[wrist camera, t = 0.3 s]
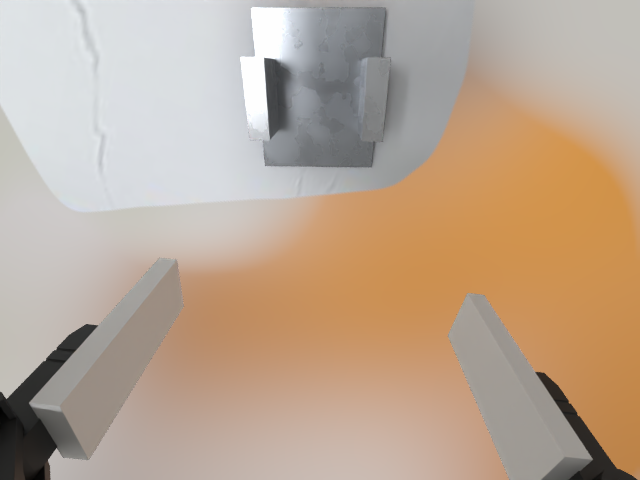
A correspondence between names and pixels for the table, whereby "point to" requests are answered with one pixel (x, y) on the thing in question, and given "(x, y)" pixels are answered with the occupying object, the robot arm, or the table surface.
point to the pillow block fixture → (317, 85)
